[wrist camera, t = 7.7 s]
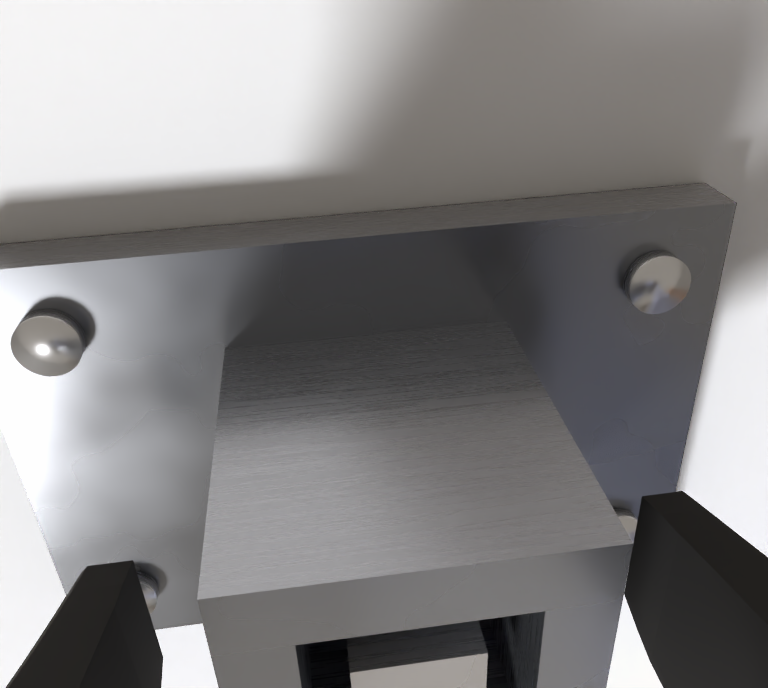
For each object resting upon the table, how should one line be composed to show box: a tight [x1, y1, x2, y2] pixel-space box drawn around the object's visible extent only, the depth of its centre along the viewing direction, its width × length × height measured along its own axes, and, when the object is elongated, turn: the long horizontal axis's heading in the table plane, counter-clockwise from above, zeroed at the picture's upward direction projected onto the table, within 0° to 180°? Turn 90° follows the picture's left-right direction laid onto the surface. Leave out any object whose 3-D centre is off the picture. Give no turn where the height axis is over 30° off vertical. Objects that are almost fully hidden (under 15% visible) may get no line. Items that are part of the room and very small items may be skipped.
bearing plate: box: [0, 183, 737, 688], centre depth 11 cm, size 12×8×6 cm, turn 92°
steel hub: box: [197, 321, 633, 688], centre depth 11 cm, size 5×5×5 cm
